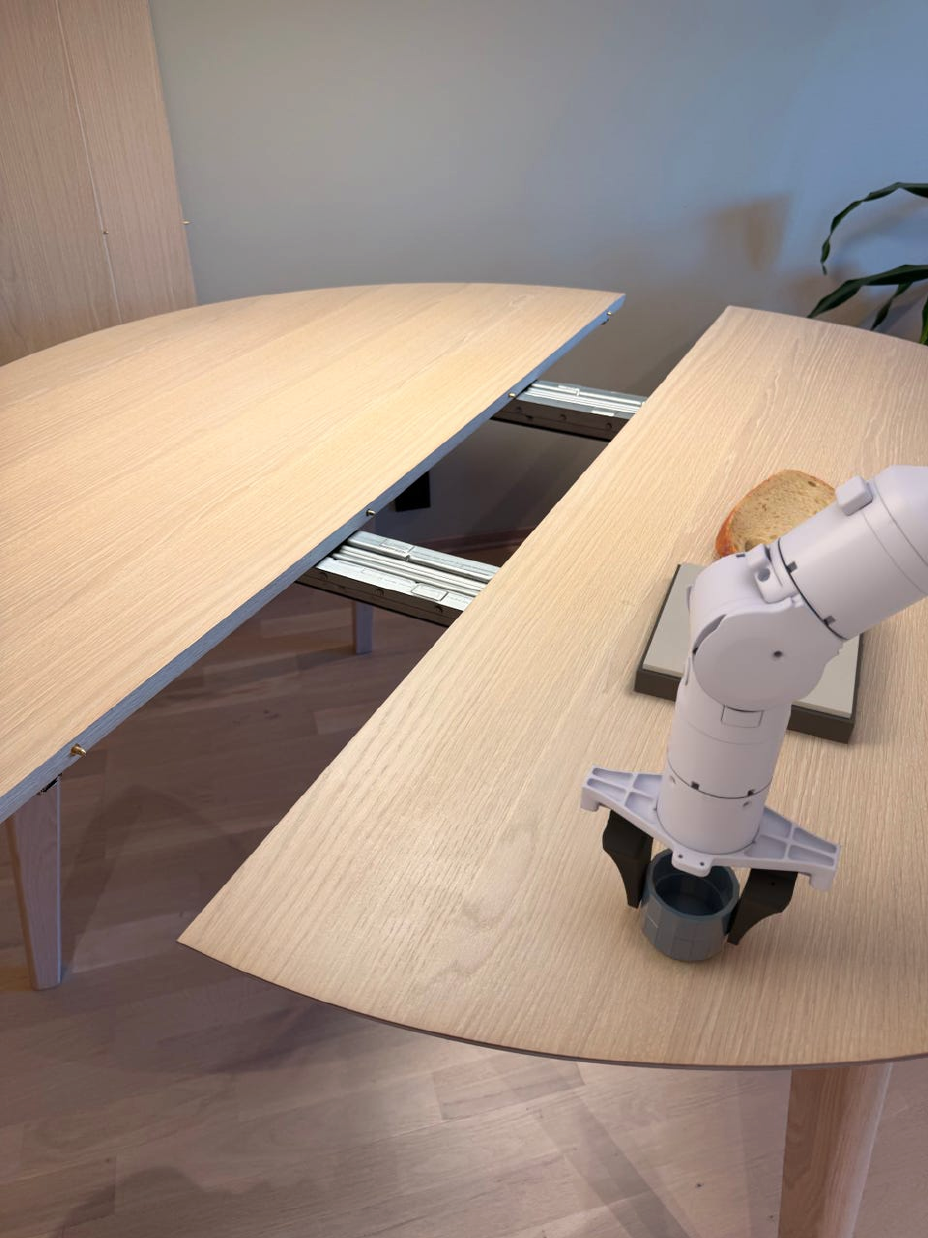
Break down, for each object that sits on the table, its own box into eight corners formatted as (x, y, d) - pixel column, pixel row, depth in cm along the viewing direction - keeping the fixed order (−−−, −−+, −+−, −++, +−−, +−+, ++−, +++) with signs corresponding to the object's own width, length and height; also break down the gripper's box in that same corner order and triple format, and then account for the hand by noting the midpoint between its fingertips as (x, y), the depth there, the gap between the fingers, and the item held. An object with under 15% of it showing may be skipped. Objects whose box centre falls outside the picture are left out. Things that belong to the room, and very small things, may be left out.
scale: (850, 744, 74) (859, 718, 72) (633, 691, 79) (637, 665, 77) (862, 622, 86) (870, 597, 85) (674, 582, 91) (678, 558, 90)
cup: (745, 941, 60) (759, 896, 57) (676, 981, 57) (687, 936, 55) (687, 877, 64) (697, 833, 61) (620, 912, 61) (627, 868, 59)
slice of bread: (808, 481, 107) (815, 451, 105) (906, 566, 94) (917, 534, 91) (662, 501, 104) (666, 471, 101) (742, 593, 90) (749, 560, 88)
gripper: (569, 766, 51) (554, 920, 59) (849, 858, 46) (791, 1012, 54) (610, 688, 56) (591, 839, 64) (866, 764, 51) (810, 917, 59)
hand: (684, 913), depth 60 cm, fingers closed on cup, 6 cm apart
